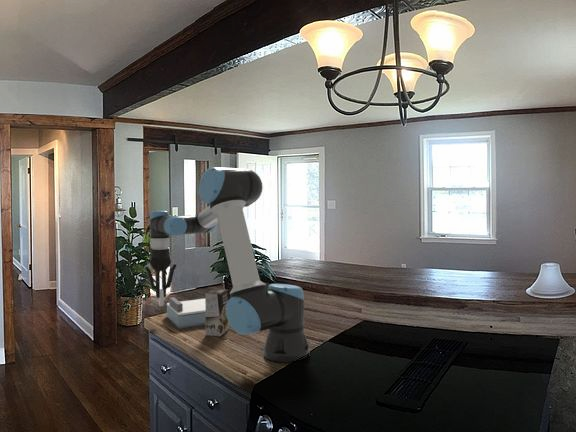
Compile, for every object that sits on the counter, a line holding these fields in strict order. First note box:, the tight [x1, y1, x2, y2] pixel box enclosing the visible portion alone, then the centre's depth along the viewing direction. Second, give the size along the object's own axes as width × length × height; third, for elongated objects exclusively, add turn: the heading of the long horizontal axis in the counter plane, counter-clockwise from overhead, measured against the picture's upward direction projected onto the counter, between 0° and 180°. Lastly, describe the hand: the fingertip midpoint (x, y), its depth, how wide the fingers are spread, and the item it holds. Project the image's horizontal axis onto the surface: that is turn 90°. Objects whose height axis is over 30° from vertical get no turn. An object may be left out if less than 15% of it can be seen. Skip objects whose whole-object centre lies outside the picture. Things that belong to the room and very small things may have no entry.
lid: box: [166, 296, 206, 316], centre depth 186 cm, size 20×20×4 cm
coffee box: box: [204, 288, 230, 337], centre depth 168 cm, size 9×6×16 cm
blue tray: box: [166, 305, 206, 330], centre depth 187 cm, size 20×20×5 cm
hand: (161, 305), depth 179 cm, fingers closed
